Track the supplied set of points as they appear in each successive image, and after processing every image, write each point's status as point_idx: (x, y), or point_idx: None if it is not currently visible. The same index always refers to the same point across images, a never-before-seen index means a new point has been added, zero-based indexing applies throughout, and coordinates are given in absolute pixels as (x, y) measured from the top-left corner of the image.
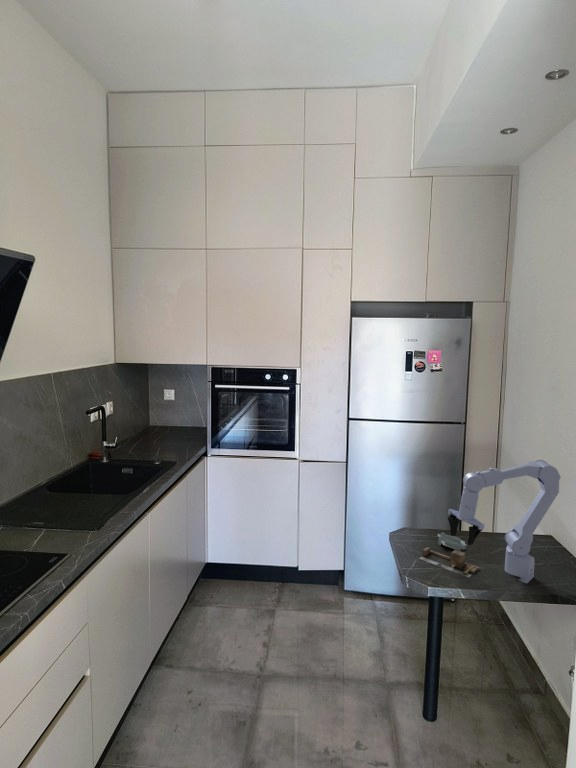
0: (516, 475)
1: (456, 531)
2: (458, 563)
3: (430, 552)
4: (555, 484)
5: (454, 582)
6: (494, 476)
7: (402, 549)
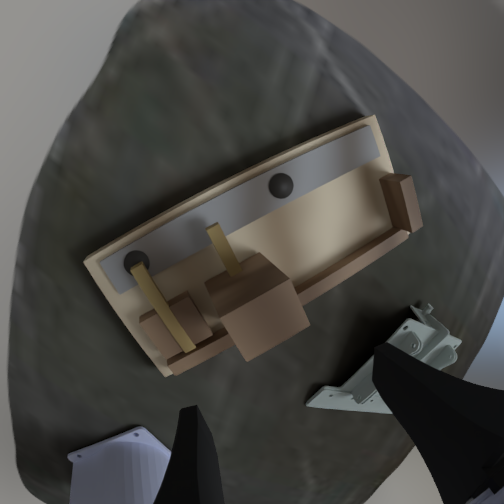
0: None
1: (390, 407)
2: (223, 283)
3: (395, 229)
4: None
5: (110, 167)
6: None
7: (453, 151)
